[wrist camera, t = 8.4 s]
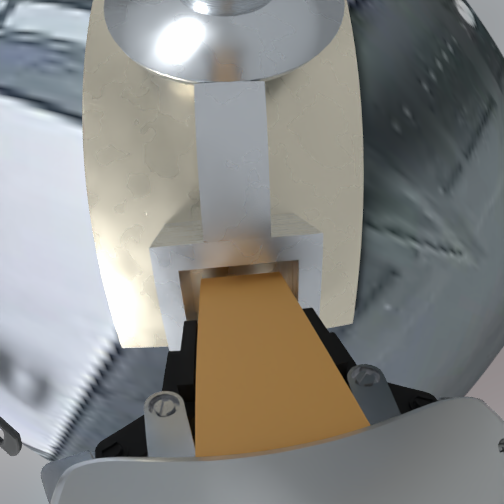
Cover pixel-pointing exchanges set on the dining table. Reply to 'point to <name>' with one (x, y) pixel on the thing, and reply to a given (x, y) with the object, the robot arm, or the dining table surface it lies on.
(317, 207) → the door knob latch
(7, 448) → the zipper pull
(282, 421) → the orange rectangular block
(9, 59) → the dining table surface
